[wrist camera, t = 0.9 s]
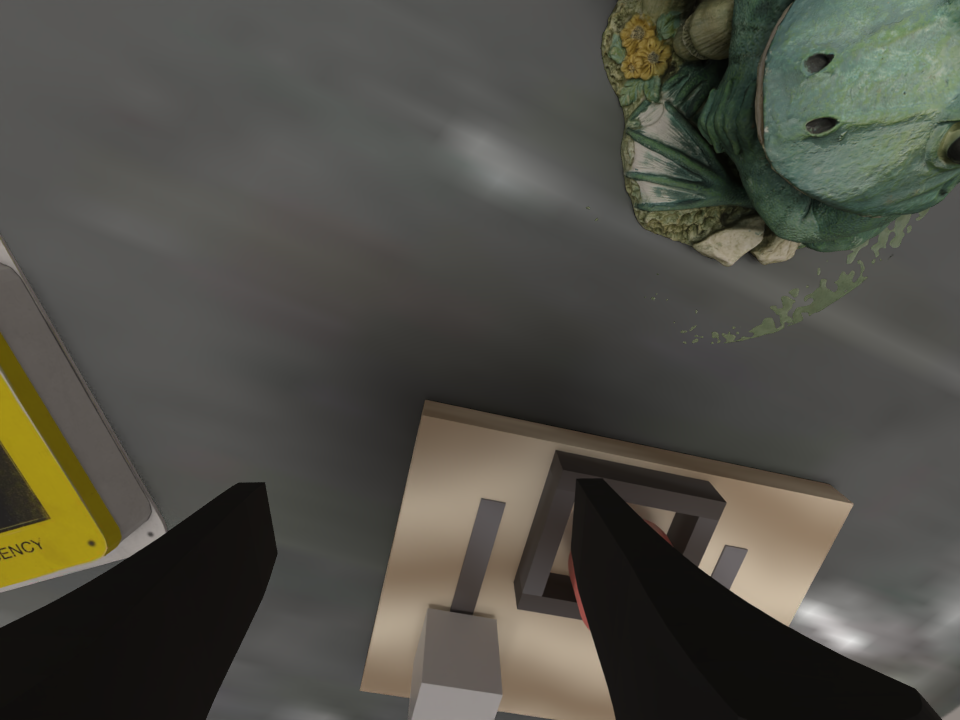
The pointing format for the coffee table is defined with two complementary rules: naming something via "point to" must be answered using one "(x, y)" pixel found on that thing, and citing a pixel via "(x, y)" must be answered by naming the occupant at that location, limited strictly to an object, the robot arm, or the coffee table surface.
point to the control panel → (547, 544)
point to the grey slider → (456, 668)
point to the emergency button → (58, 455)
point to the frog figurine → (786, 124)
